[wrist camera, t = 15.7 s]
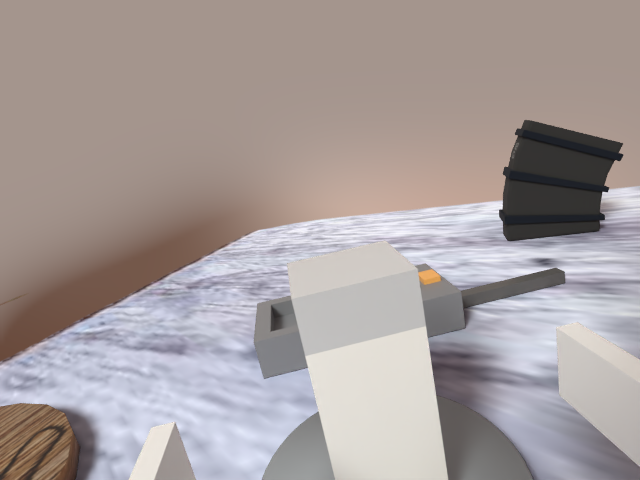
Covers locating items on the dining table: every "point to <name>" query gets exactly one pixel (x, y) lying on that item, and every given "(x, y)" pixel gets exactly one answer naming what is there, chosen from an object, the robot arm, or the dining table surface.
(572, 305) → the dining table surface
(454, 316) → the power strip
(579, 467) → the dining table surface
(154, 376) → the dining table surface
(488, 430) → the mat
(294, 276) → the block
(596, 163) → the magazine
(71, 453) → the trivet
